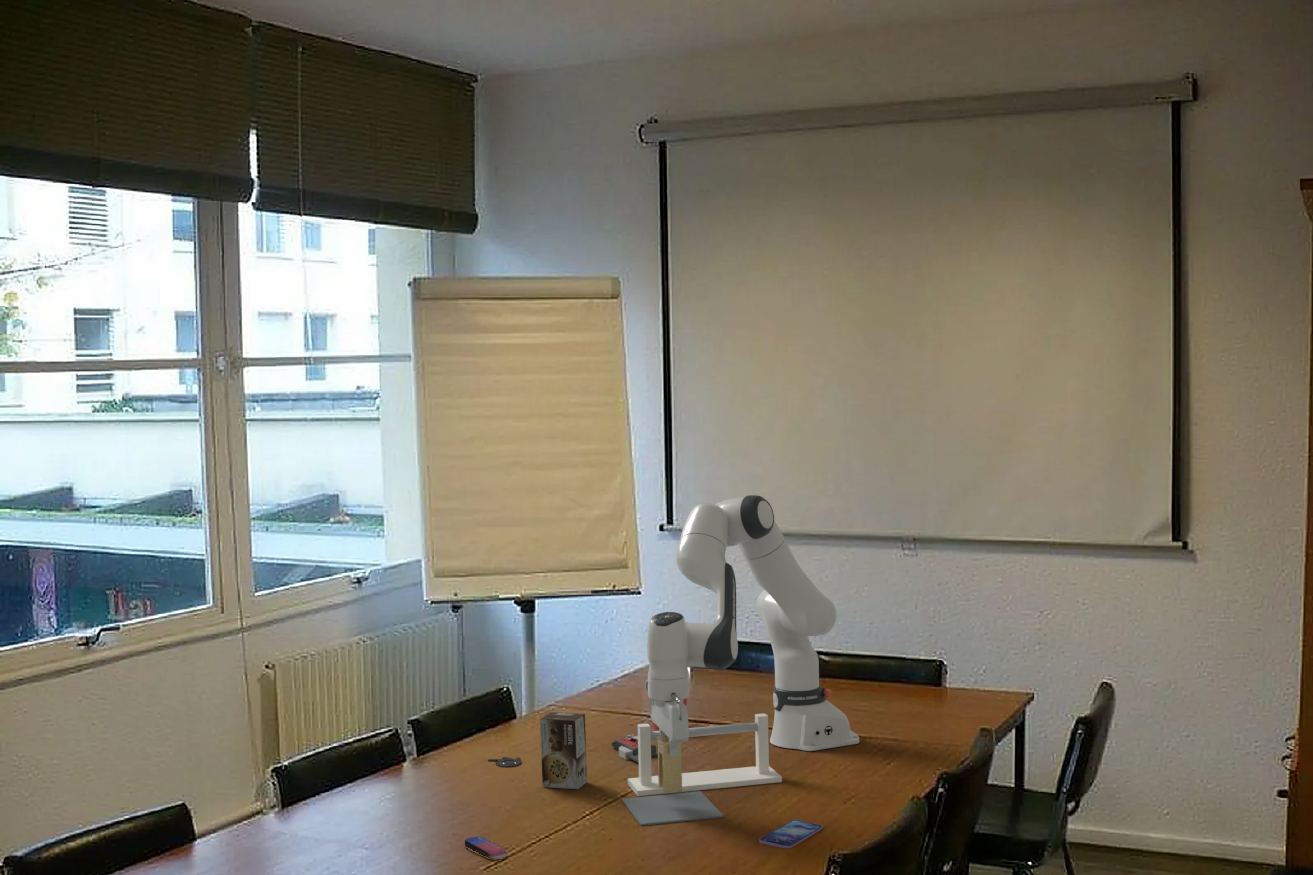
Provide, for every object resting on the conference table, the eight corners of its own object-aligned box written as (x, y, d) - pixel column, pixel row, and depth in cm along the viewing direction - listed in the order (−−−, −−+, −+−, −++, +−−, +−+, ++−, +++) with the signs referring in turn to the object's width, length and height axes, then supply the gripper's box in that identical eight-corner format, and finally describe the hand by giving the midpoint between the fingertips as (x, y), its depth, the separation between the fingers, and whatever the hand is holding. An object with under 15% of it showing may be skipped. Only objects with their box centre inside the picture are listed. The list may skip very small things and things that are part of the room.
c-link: (676, 784, 312) (675, 735, 311) (682, 791, 307) (681, 740, 306) (658, 786, 311) (657, 736, 310) (664, 793, 306) (663, 742, 305)
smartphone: (825, 825, 295) (789, 847, 282) (825, 830, 295) (789, 851, 282) (793, 818, 299) (757, 839, 286) (793, 823, 299) (757, 844, 286)
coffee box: (588, 782, 330) (586, 713, 330) (577, 790, 324) (575, 720, 323) (552, 779, 333) (550, 711, 333) (541, 787, 327) (539, 717, 326)
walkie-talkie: (604, 750, 359) (639, 769, 341) (603, 733, 358) (639, 751, 341) (635, 745, 363) (672, 764, 345) (634, 728, 362) (671, 746, 345)
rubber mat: (700, 792, 320) (700, 791, 320) (723, 817, 303) (723, 815, 303) (622, 800, 316) (622, 798, 316) (640, 825, 298) (640, 824, 298)
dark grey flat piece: (482, 763, 349) (482, 760, 349) (506, 756, 355) (506, 754, 355) (507, 770, 343) (507, 767, 343) (531, 763, 348) (531, 760, 348)
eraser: (510, 858, 282) (510, 850, 282) (492, 863, 279) (492, 854, 279) (479, 843, 290) (479, 834, 290) (462, 847, 288) (462, 838, 288)
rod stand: (768, 770, 337) (766, 709, 336) (781, 782, 327) (780, 719, 326) (627, 783, 328) (626, 721, 328) (637, 796, 319) (636, 731, 318)
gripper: (695, 698, 299) (696, 763, 299) (671, 678, 318) (672, 739, 319) (666, 700, 297) (667, 766, 298) (643, 680, 317) (644, 741, 318)
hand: (669, 752), depth 309 cm, fingers closed on c-link, 5 cm apart
